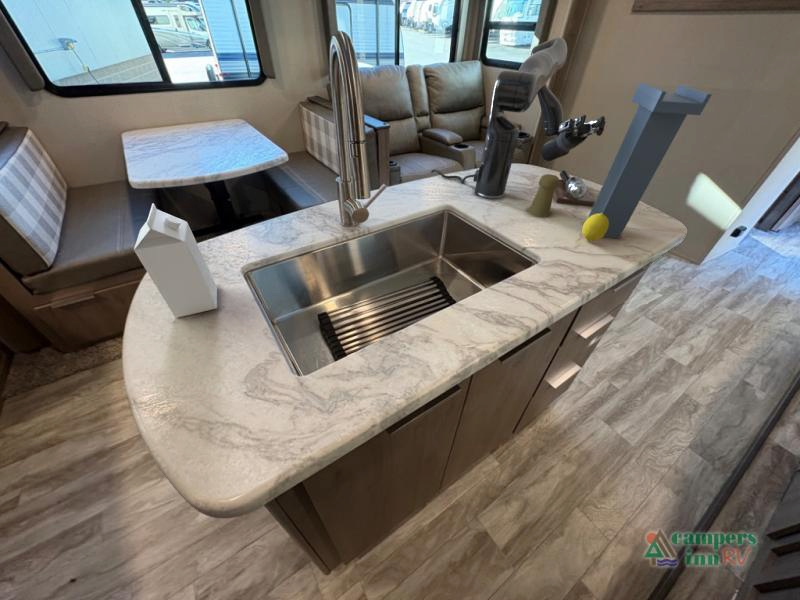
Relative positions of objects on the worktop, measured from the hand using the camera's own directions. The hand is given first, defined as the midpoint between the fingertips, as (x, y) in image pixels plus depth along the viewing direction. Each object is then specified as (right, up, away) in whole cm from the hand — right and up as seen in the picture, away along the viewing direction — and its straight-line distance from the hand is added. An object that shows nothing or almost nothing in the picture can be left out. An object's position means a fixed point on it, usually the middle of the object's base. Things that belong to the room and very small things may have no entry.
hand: (593, 119), depth 96 cm
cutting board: (-1, -18, +12) cm, 22 cm away
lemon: (-8, -39, -11) cm, 41 cm away
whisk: (-1, -17, +12) cm, 21 cm away
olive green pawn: (-16, -28, +1) cm, 32 cm away
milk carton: (-98, -55, -33) cm, 117 cm away
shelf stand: (-2, -35, -6) cm, 36 cm away
